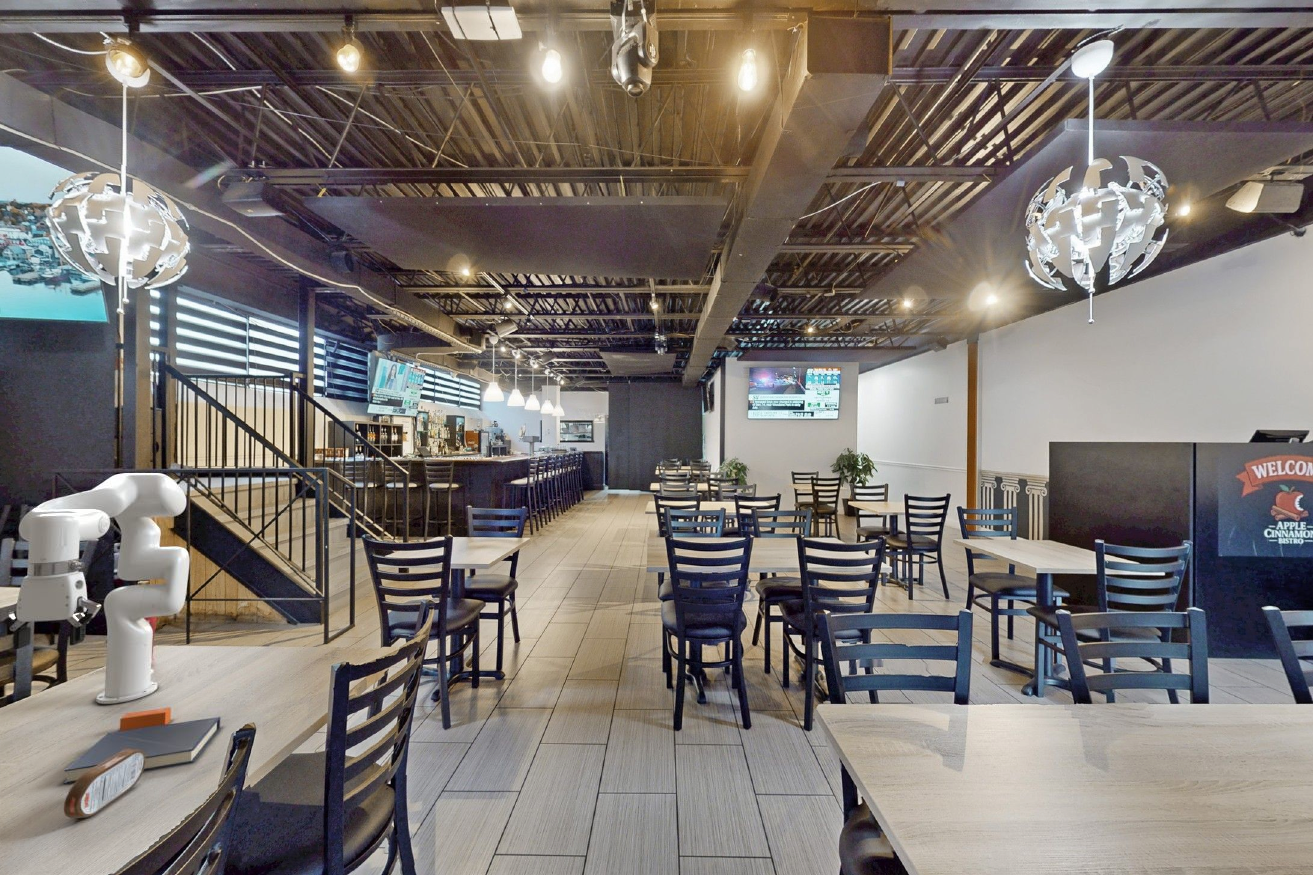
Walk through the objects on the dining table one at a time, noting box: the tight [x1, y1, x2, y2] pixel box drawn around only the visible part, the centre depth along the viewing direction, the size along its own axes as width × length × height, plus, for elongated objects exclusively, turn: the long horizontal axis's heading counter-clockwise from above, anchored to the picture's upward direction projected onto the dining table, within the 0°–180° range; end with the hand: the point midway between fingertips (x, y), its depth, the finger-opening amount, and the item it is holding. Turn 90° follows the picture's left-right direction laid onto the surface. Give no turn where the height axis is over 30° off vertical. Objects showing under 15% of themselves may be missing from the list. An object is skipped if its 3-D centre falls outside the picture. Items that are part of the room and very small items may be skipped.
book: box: [63, 716, 221, 785], centre depth 124 cm, size 16×22×3 cm
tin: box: [63, 749, 146, 819], centre depth 107 cm, size 15×3×8 cm, turn 5°
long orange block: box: [119, 707, 172, 731], centre depth 136 cm, size 3×9×4 cm, turn 113°
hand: (49, 645), depth 118 cm, fingers open, 9 cm apart
